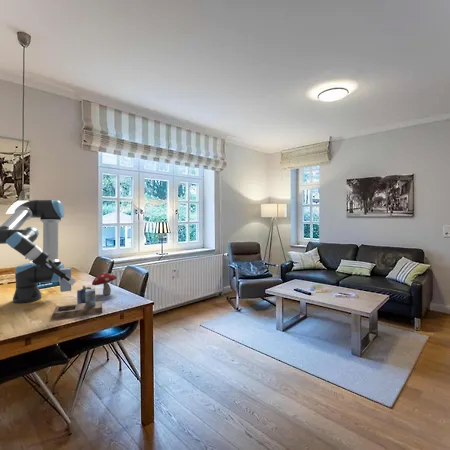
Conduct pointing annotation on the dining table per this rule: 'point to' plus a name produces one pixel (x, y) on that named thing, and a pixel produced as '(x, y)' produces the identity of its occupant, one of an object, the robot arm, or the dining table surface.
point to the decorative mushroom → (104, 281)
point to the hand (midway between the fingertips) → (73, 282)
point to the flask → (81, 295)
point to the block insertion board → (80, 307)
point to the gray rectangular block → (63, 284)
